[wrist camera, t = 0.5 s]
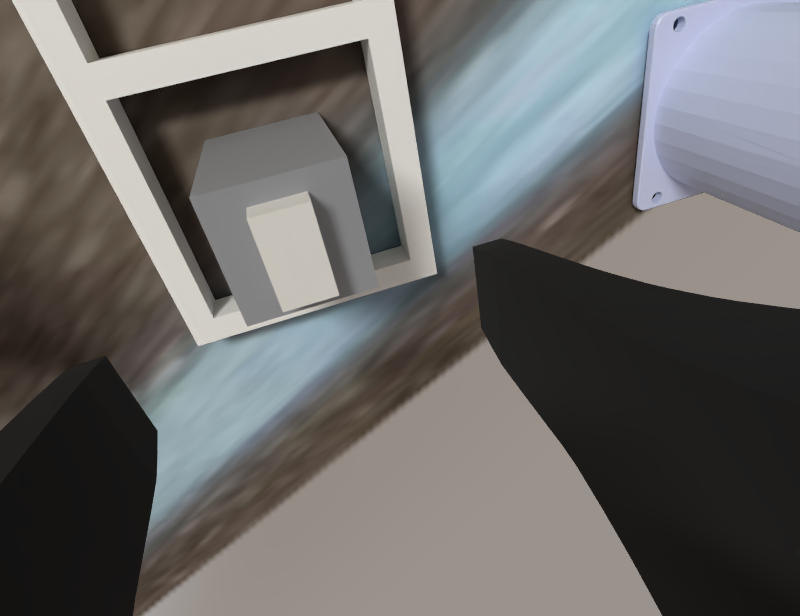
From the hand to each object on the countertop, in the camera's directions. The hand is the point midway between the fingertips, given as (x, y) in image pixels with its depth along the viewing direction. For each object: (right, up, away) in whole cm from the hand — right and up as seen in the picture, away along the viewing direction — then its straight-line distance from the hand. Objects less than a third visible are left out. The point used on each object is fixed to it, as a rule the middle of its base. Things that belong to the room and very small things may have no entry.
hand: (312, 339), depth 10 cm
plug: (-3, +5, +8) cm, 10 cm away
